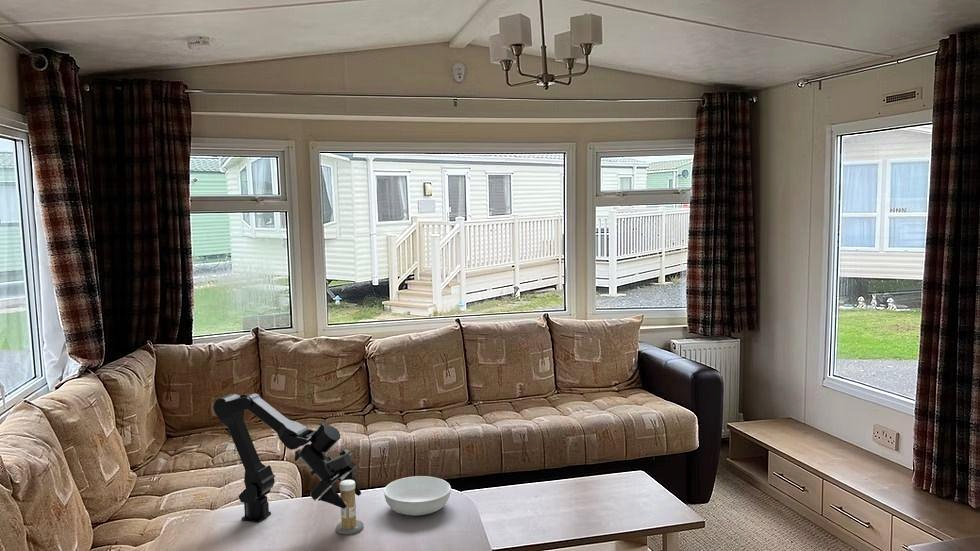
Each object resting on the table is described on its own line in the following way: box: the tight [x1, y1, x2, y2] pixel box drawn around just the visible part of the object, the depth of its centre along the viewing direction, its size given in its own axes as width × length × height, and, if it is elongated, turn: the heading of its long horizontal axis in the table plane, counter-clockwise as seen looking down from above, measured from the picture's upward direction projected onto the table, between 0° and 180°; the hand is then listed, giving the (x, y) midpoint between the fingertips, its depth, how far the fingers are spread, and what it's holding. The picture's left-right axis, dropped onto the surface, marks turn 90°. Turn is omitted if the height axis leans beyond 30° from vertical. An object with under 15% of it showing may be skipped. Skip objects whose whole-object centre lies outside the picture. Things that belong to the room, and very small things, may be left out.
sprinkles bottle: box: [339, 480, 357, 529], centre depth 198 cm, size 5×5×14 cm
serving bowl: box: [383, 475, 452, 516], centre depth 211 cm, size 21×21×7 cm
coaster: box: [335, 519, 365, 536], centre depth 198 cm, size 8×8×1 cm
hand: (352, 501), depth 197 cm, fingers open, 9 cm apart
